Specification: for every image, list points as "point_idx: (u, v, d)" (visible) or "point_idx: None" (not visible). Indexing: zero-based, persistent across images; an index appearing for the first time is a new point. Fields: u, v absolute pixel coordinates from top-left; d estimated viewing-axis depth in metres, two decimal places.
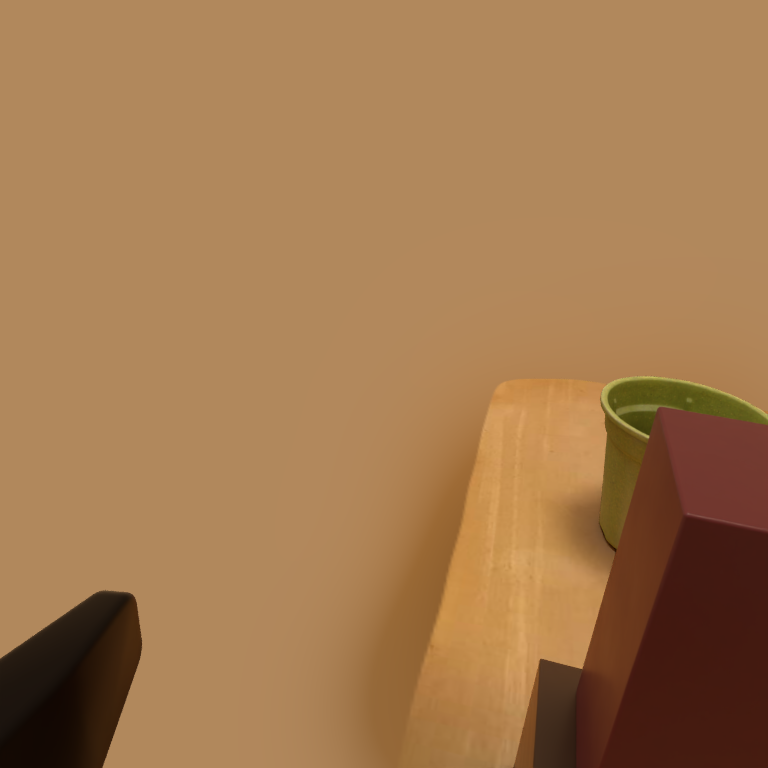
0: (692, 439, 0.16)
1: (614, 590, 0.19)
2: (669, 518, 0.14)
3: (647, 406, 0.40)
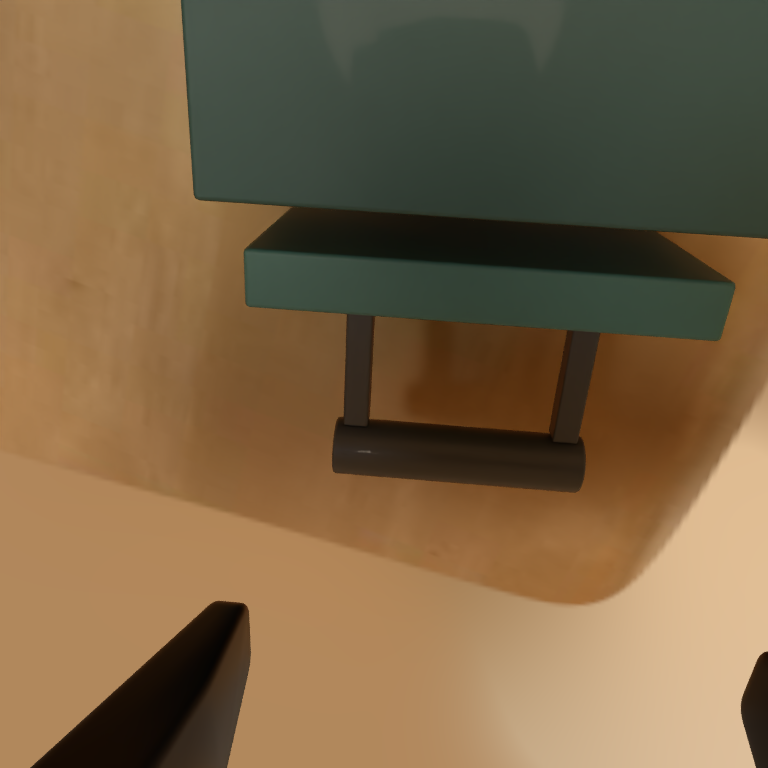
0: None
1: None
2: None
3: None
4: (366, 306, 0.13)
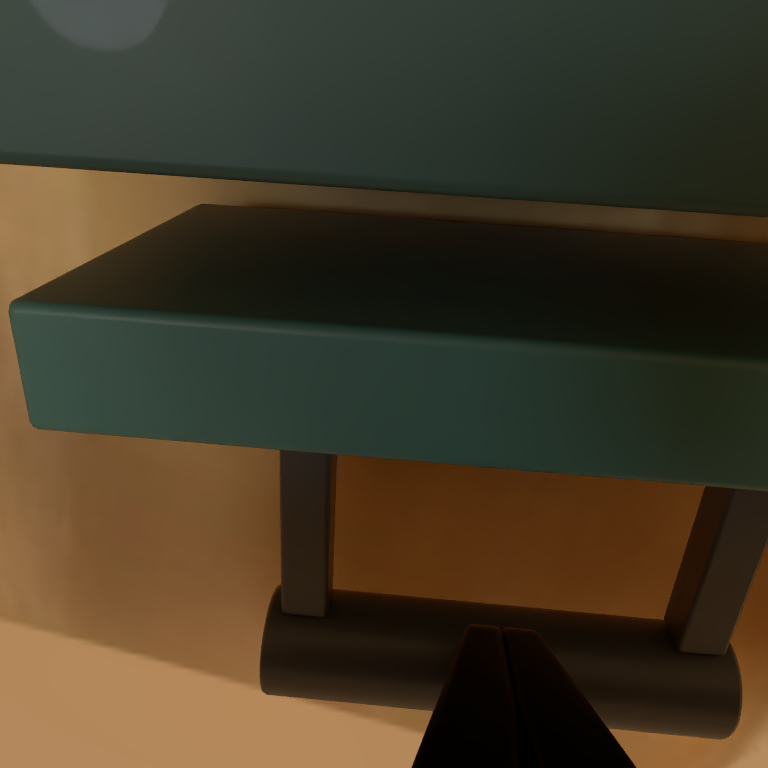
0: None
1: None
2: None
3: None
4: (304, 433, 0.06)
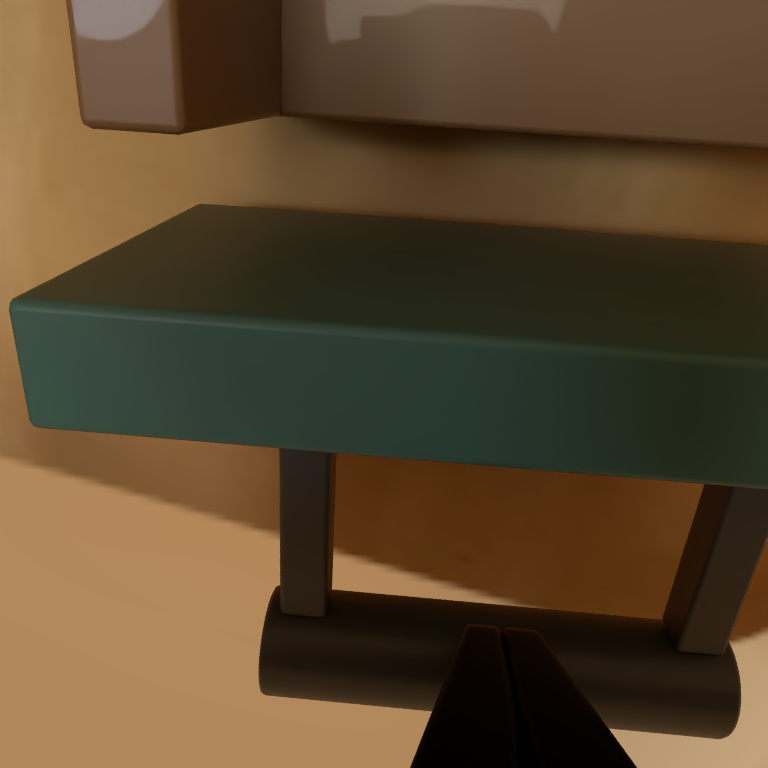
0: None
1: None
2: None
3: None
4: (305, 431, 0.06)
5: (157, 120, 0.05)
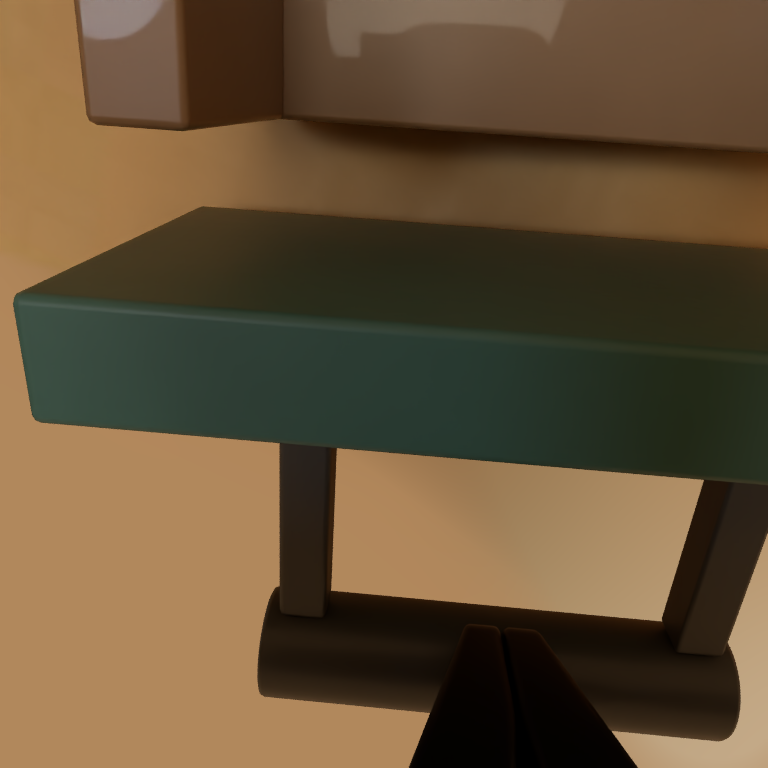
0: None
1: None
2: None
3: None
4: (305, 426, 0.06)
5: (162, 116, 0.05)
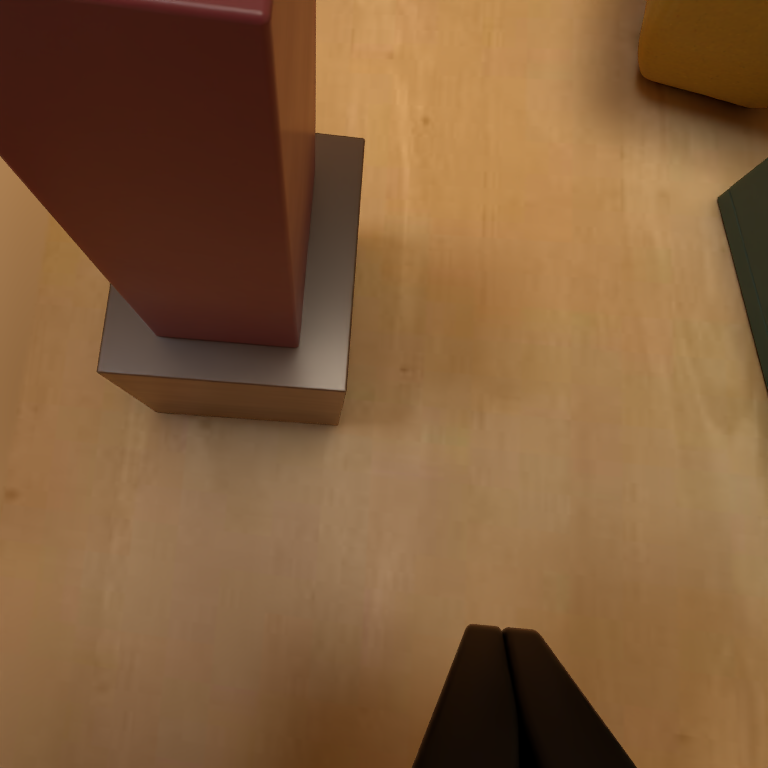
0: None
1: None
2: None
3: None
4: None
5: None
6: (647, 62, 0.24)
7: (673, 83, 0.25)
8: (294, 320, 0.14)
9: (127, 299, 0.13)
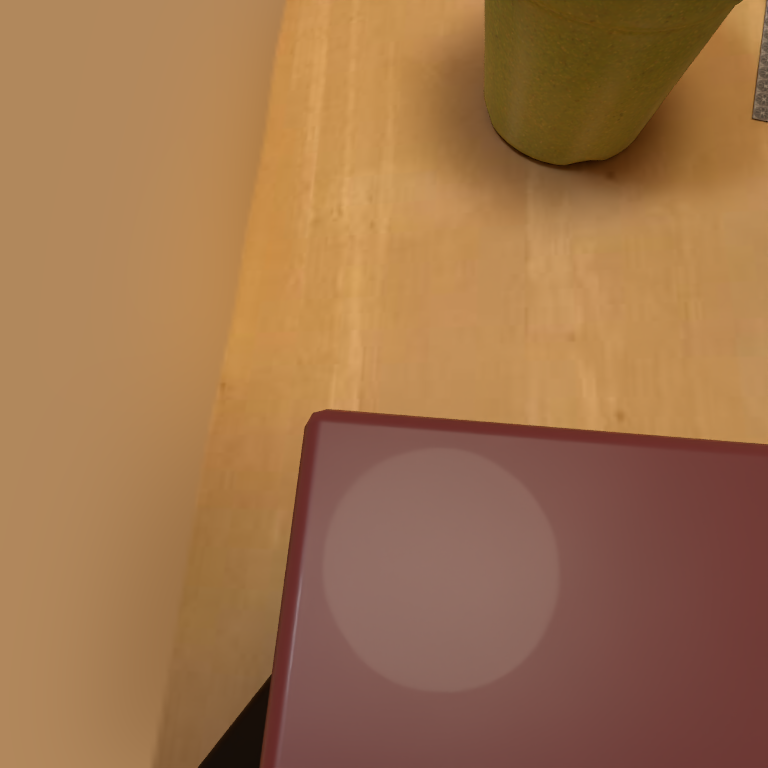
0: None
1: None
2: None
3: None
4: None
5: None
6: None
7: None
8: None
9: None
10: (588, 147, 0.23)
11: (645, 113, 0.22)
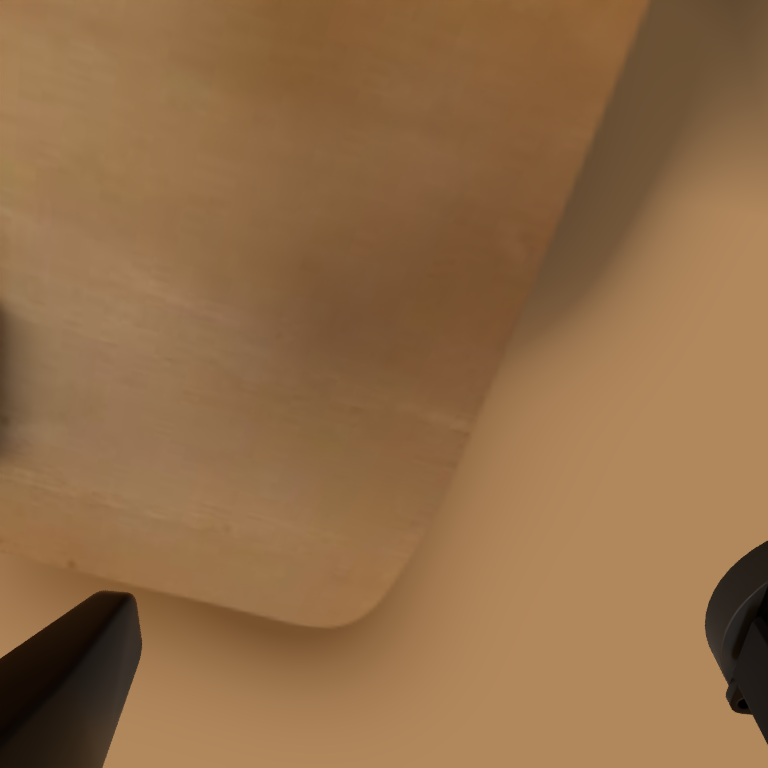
0: None
1: None
2: None
3: None
4: None
5: None
6: None
7: None
8: None
9: None
10: None
11: None
